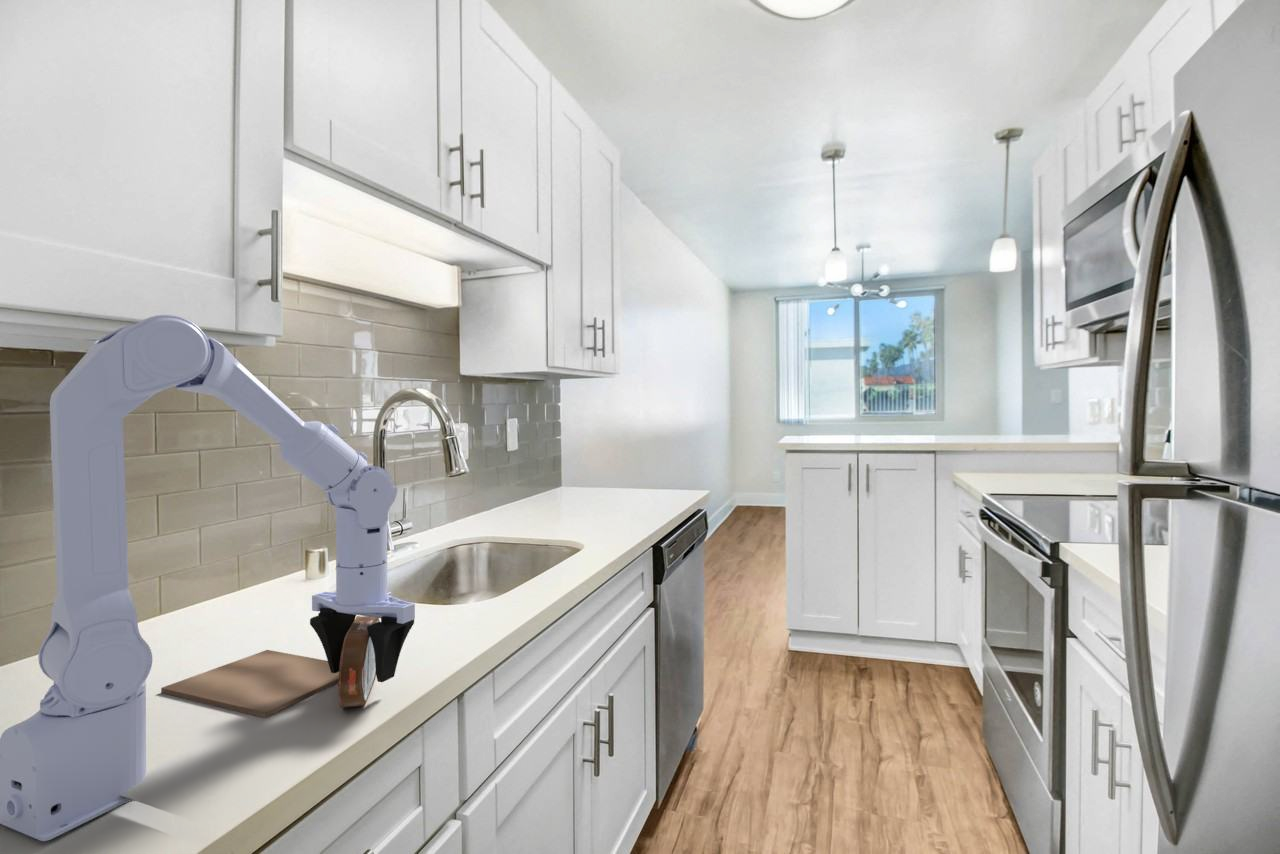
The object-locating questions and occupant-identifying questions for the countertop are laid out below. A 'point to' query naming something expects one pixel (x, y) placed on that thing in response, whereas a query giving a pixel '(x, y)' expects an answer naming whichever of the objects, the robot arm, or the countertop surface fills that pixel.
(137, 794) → the countertop surface
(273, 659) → the board
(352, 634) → the tin
